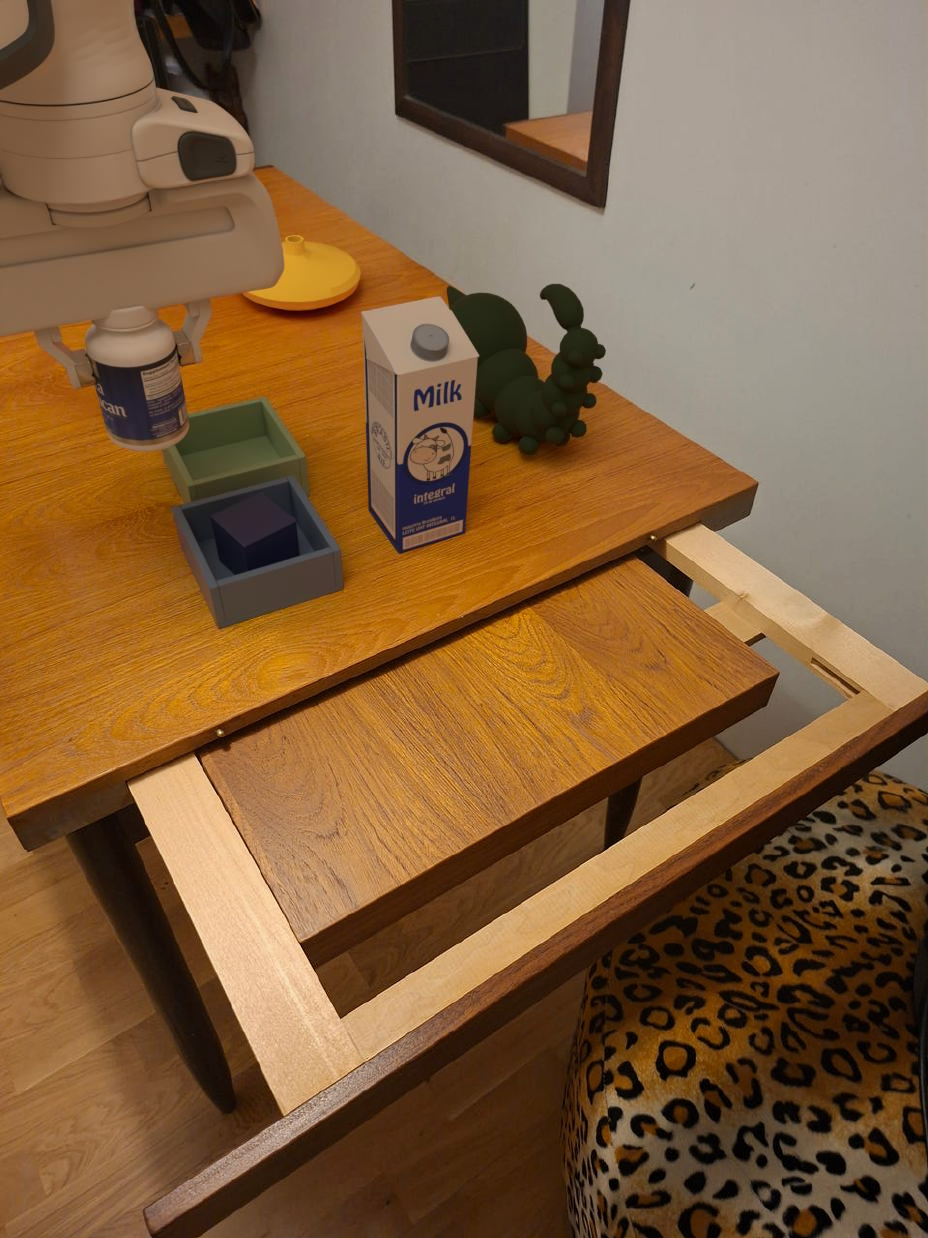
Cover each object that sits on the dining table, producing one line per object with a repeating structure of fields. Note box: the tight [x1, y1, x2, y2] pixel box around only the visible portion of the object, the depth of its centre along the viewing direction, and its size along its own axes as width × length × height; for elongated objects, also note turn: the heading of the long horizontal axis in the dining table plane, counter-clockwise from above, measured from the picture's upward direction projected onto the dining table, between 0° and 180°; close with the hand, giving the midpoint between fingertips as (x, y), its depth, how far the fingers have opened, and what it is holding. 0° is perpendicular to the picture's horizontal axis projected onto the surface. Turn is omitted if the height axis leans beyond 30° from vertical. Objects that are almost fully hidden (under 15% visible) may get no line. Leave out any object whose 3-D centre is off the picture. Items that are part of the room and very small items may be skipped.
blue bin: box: [170, 475, 344, 629], centre depth 74 cm, size 11×11×5 cm
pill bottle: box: [84, 306, 189, 453], centre depth 56 cm, size 5×5×10 cm
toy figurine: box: [446, 283, 607, 457], centre depth 87 cm, size 9×19×25 cm
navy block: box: [210, 492, 300, 575], centre depth 73 cm, size 5×5×5 cm
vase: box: [241, 234, 362, 312], centre depth 107 cm, size 16×16×7 cm
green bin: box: [161, 396, 311, 504], centre depth 82 cm, size 11×11×5 cm
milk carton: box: [360, 295, 479, 554], centre depth 73 cm, size 7×7×20 cm
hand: (138, 371), depth 56 cm, fingers closed on pill bottle, 5 cm apart
